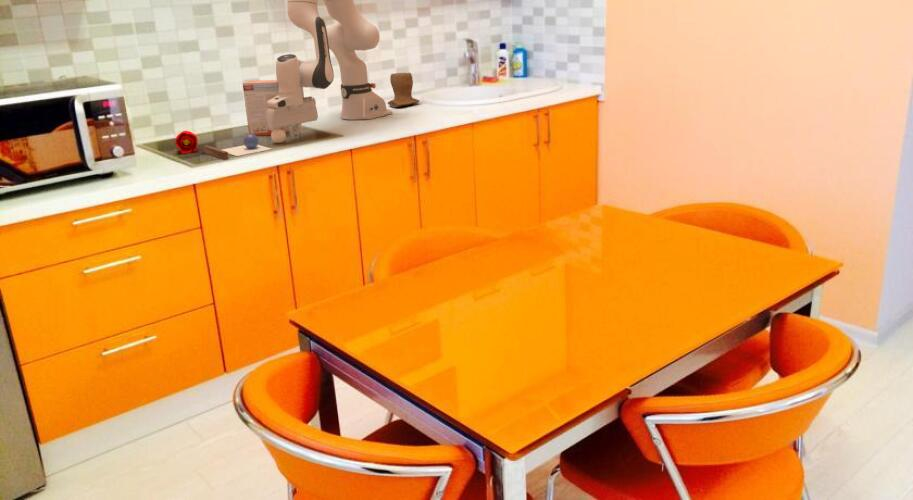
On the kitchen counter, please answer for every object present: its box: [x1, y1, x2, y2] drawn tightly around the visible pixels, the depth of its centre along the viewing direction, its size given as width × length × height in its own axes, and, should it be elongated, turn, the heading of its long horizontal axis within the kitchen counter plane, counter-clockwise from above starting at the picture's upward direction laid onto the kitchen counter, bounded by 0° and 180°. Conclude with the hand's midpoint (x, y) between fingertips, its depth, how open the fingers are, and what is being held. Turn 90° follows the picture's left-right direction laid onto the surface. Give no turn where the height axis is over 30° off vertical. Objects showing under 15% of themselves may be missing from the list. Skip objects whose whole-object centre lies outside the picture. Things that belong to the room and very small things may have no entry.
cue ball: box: [270, 128, 287, 144], centre depth 306 cm, size 6×6×6 cm
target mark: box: [221, 144, 272, 157], centre depth 298 cm, size 14×14×1 cm
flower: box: [174, 130, 198, 154], centre depth 299 cm, size 8×8×8 cm
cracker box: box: [242, 79, 288, 136], centre depth 320 cm, size 14×6×21 cm, turn 84°
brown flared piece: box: [387, 72, 420, 109], centre depth 370 cm, size 15×12×15 cm
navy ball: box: [242, 133, 260, 149], centre depth 299 cm, size 6×6×6 cm
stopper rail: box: [203, 145, 230, 161], centre depth 291 cm, size 2×16×2 cm, turn 41°
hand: (294, 135), depth 310 cm, fingers closed
